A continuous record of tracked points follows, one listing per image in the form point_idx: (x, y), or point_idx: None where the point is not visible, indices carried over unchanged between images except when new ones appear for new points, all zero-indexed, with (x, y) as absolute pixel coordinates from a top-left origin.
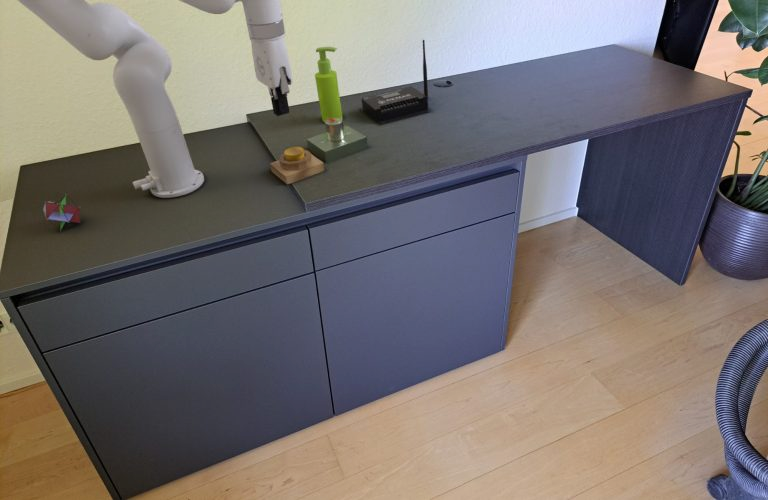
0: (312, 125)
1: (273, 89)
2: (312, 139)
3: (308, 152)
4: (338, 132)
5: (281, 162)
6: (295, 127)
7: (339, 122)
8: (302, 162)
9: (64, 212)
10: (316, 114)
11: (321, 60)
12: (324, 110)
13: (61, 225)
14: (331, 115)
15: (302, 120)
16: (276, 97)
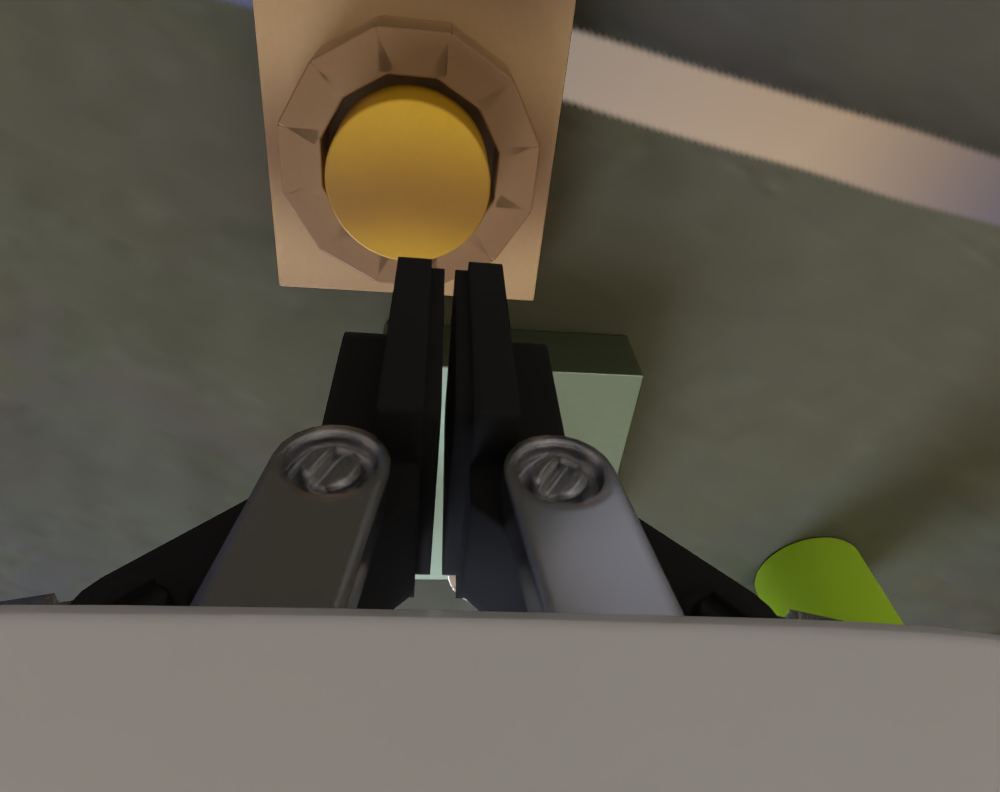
0: (855, 489)
1: (306, 598)
2: (604, 396)
3: (390, 273)
4: None
5: (400, 25)
6: (936, 425)
7: (455, 582)
8: (281, 159)
9: None
10: (930, 554)
11: None
12: (833, 596)
13: None
14: (786, 589)
15: (958, 485)
16: (274, 468)
